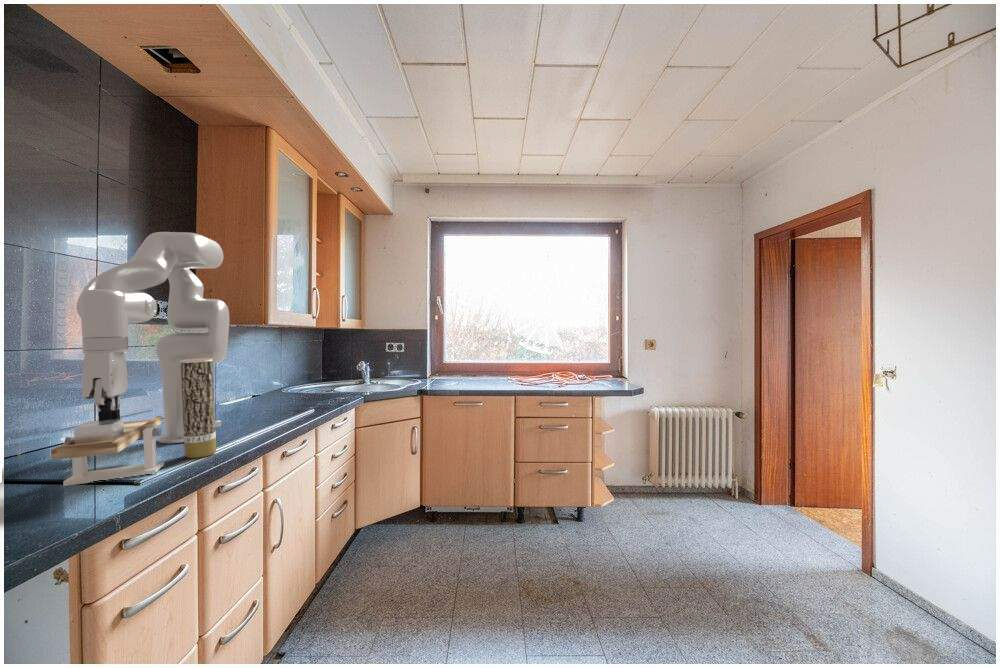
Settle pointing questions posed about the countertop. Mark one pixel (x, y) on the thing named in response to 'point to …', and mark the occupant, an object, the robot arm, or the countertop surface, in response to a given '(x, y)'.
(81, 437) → the steel block
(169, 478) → the countertop surface
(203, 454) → the bark textured cylinder
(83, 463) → the pivot stand
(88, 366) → the robot arm
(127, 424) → the balance beam
